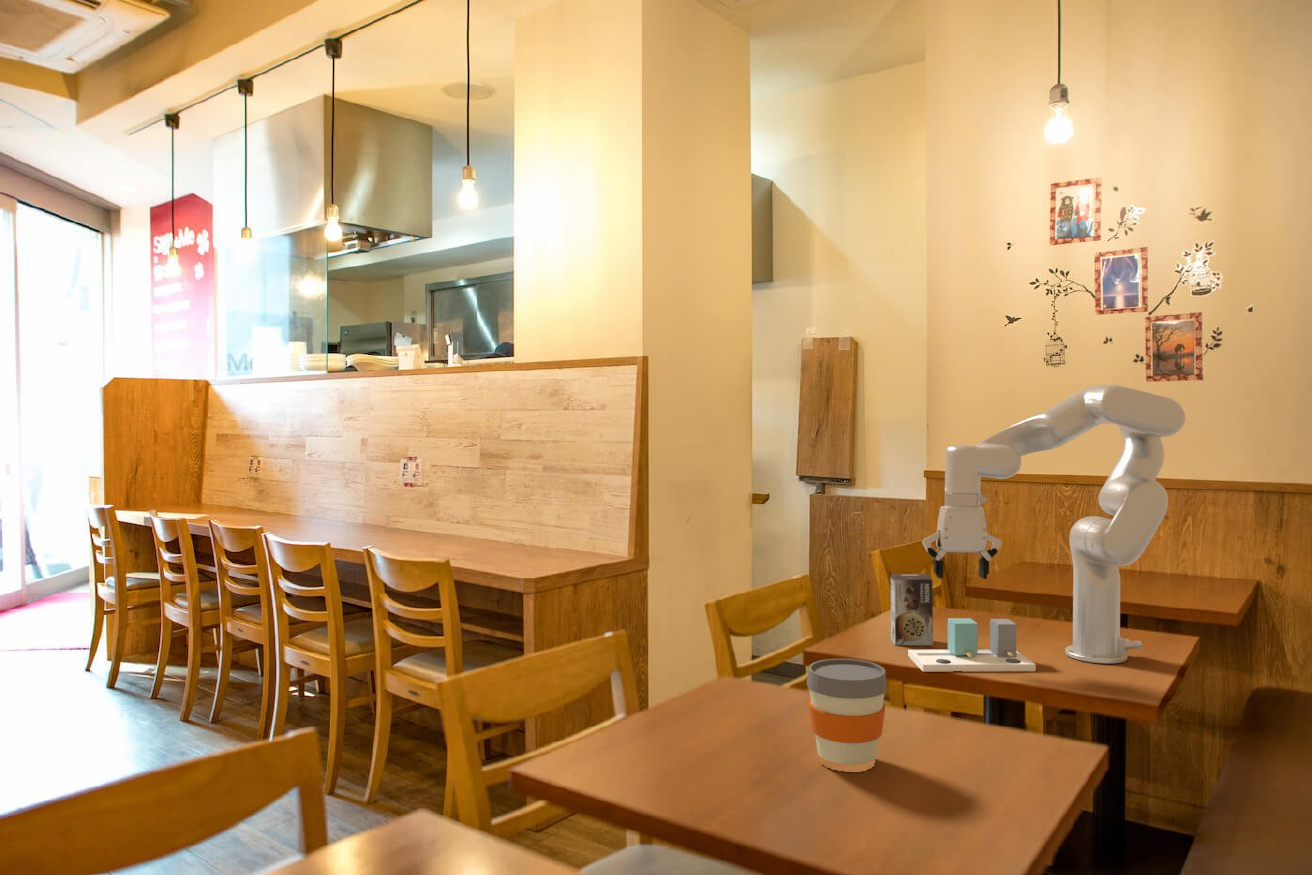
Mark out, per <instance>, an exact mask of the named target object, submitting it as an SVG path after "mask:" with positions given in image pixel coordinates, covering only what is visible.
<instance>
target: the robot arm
mask: <svg viewBox="0 0 1312 875" xmlns="http://www.w3.org/2000/svg"><path fill="white" fill-rule="evenodd" d="M1185 421H1186V414H1185V410H1184V408H1183V407H1182V406H1181V404H1180V403H1179V402H1177V401H1176V400H1175V399H1172V398H1170V397H1168V396H1163V395H1159V394H1154V393H1152V392H1151V393H1150V392H1147V391H1143V390H1140V389H1139V390H1138V389H1136V388H1131V387H1127V386H1124V385H1118V384H1107V385H1105V384H1104V385H1092V386H1087V387H1085V388H1083V389H1081V390H1079V391H1078V392H1076V393H1074V394H1073V395H1070V396H1068V397H1067V398H1066V399H1064V400H1062V401H1060V402H1058V403H1057V404H1055V405H1053V406H1051V407H1050V408H1048V409H1046V410H1045V411H1043V412H1040V413H1039V414H1036V415H1034V416H1032V417H1029V418H1026V419H1024V420H1022V421H1020V422H1017V423H1015V424H1013V425H1010V426H1009V427H1006V428H1003V429H1002V430H1001V429H1000V430H999V431H997V432H995V433H993V434H992V435H990V436H988V437H987V438H984V440H981V441H979V443H977V444H975V445H971V444H970V445H969V444H967V445H966V444H958V445H957V444H953V445H949V446H948V447H947V448H945V456H944V457H945V458H944V459H945V462H944V467H945V468H944V469H945V470H944V505H941V506H940V508H939V512H938V518H937V525H936V532H934V533H933V534H931V535H929V536H926V537H925V538H923V539H922V540H921V543H922V545H923V547H924V549H925V550H926V552H927V553H928V554H929V555H930V556H931V558H932V559H933V573H934V575H935V576H936V578H938V579H941V580H942V579H943V578H944V561H943V557H944V556H945V555H946V554H947V553H977V554H978V555H979V556H980V558H979V560H978V562H979V564H978V576H979V577H980V578H982V579H983V580H987V579H988V575H989V574H990V562H991V560H992V559H993V557H995V555H996V554H998V550H999V549H1000V548H1001V545H1002V543H1003V541H1002V540H1001V539H999V538H997V537H995V536H993V535H991V534H989V533H987V521H986V516H985V510H984V507H982V503H984V502H987V501H988V498H987V495H983V494H982V493H981V490H982V489H981V485H982V484H981V482H982V481H981V480H982V477H983V478H991V479H1000V480H1005V479H1006V480H1007V479H1009V478H1012V477H1014V476H1015V475H1017V474H1018V473H1019V471H1020V470H1021V467H1022V458H1021V457H1024V456H1026V455H1029V454H1033V453H1039V452H1044V451H1045V452H1046V451H1051V450H1054V449H1057V448H1060V447H1063V446H1065V445H1066V444H1068V443H1070V442H1071V441H1073V440H1075V439H1076V438H1078V437H1080V436H1082V435H1083V434H1085V433H1087V432H1089V431H1091V430H1092V429H1094V428H1096V427H1098V426H1100V425H1103V424H1108V425H1110V424H1112V425H1117V426H1118V428H1119V431H1120V434H1121V436H1122V442H1123V448H1122V452H1121V454H1120V457H1119V458H1118V460H1117V463H1116V464H1115V466H1114V467H1113V469H1112V471H1111V472H1110V474H1109V476H1108V477H1107V479H1106V481H1105V482H1104V484H1103V486H1102V488H1101V490H1100V491H1099V494H1098V504H1099V507H1100V508H1101V510H1102V511H1104V512H1105V513H1106V514H1108V515H1110V516H1113V517H1112V518H1107V517H1102V516H1095V515H1091V516H1090V515H1089V516H1085V517H1083V518H1080V519H1078V520H1076V521H1075V523H1074V524H1073V525H1072V528H1071V529H1070V532H1069V539H1068V541H1069V548H1070V553H1071V559H1072V560H1071V561H1072V571H1073V575H1072V576H1073V577H1072V578H1073V579H1072V580H1073V583H1072V584H1073V585H1072V586H1073V588H1072V591H1073V592H1072V601H1073V602H1072V607H1073V608H1072V644H1070V645H1068V646H1066V647H1065V649H1064V650H1065V652H1064V653H1065V655H1067V656H1068V657H1070V658H1072V659H1074V660H1078V661H1082V662H1086V663H1087V662H1088V663H1094V664H1095V663H1096V664H1108V665H1109V664H1110V665H1111V664H1121V663H1123V662H1126V661H1127V660H1128V653H1127V651H1129V650H1142V649H1143V643H1142V641H1141V640H1130V638H1129V639H1127V638H1124V637H1121V633H1120V632H1121V628H1120V627H1121V575H1120V569H1119V566H1120V567H1123V566H1129V565H1131V564H1133V563H1135V562H1136V561H1138V559H1139V558H1140V557H1141V556H1142V555H1143V553H1144V552H1145V551H1146V549H1147V547H1148V545H1149V544H1150V542H1151V540H1152V538H1154V536H1155V533H1156V532H1157V531H1158V529H1159V527H1160V525H1161V524H1162V522H1163V520H1164V518H1165V516H1166V514H1167V511H1168V507H1169V497H1168V496H1169V495H1168V492H1167V490H1166V489H1165V487H1164V486H1163V485H1162V484H1161V483H1160V482H1158V481H1157V477H1158V476H1159V473H1160V472H1161V470H1162V467H1163V465H1164V461H1165V450H1164V444H1163V442H1162V439H1161V438H1165V437H1166V438H1167V437H1171V436H1173V435H1176V434H1177V433H1179V431H1181V430H1182V428H1183V427H1184V424H1185ZM988 541H989V542H991V543H992V545H991V547H990V548H989V549H988V550H987V545H988V544H987V543H988ZM933 542H935V544H936V548H937V549H936V550H934V549H933V547H932V543H933Z"/></svg>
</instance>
